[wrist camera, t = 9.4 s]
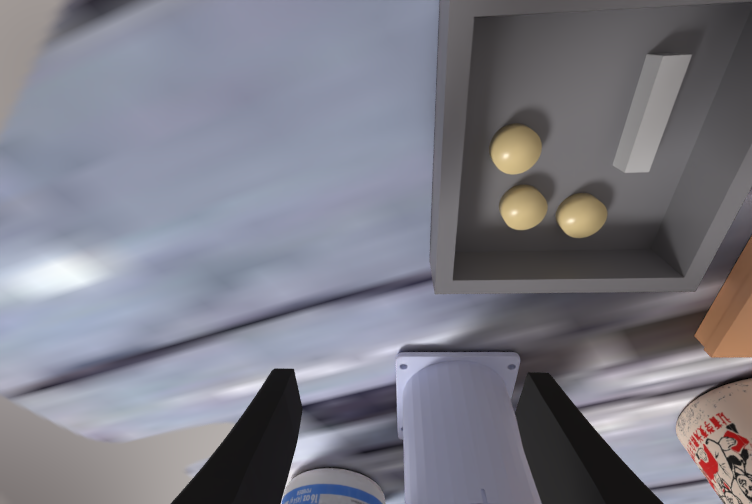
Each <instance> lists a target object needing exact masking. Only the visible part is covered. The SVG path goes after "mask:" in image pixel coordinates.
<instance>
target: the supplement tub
mask: <svg viewBox="0 0 752 504" xmlns="http://www.w3.org/2000/svg"><path fill="white" fill-rule="evenodd" d="M282 504H385V497H384V494H383V491H382V490H381V488H380V487H379V486H378V484H377V483H375V482H374V481H373V480H372V479H370V478H368V477H366V476H364V475H362V474H359V473H356V472H353V471H349V470H344V469H336V468H322V469H314V470H310V471H306V472H303V473H301V474H299V475H297V476H296V477H294V478H293V479H292V480H291V481H290V482H289V483H288V485H287V487H286V489H285V492H284V496H283V500H282Z"/></svg>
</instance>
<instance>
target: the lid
mask: <svg viewBox="0 0 752 504" xmlns="http://www.w3.org/2000/svg"><path fill="white" fill-rule="evenodd" d="M694 336H695V337H696V338H697V339H698V340H699V342H700V343H701V344H702V345H703V346H704V347H705V348H704V350H705V351H706V352H707V354H708V355H709V356H710V357H752V236H751V238H750V239H749V241H748V243H747V245H746V246H745V248H744V250H743V252H742V253H741V255H740V257H739V258H738V260H737V262H736V264H735V265H734V267H733V269H732V271H731V272H730V274H729V276H728V278H727V279H726V281H725V283H724V285H723V286H722V288H721V290H720V292H719V293H718V295H717V297H716V299H715V300H714V302H713V304H712V306H711V307H710V309H709V311H708V313H707V314H706V316H705V318H704V320H703V321H702V323H701V325H700V327H699V328H698V330H697V332H696V334H695V335H694Z"/></svg>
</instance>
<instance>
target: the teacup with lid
mask: <svg viewBox="0 0 752 504" xmlns="http://www.w3.org/2000/svg"><path fill="white" fill-rule="evenodd" d="M676 433H677V436H678V438H679V440H680V441H681V443H682V444H683V446H684V447H685V449H686V450H687V451H688V453H689V454H690V456H691V457H692V459H693V460H694V462H695V463H696V464H697V466H698V467H699V469H700V470H701V472H702V473H703V474H704V476H705V477H706V479H707V480H708V482H709V483H710V485H711V486H712V487H713V489H714V490H715V492H716V493H717V495H718V496H719V498H720V499H721V500H722V502H723V503H724V504H752V378H750V379H745V380H740V381H736V382H733V383H729V384H726V385H723V386H721V387H718V388H716V389H714V390H712V391H709V392H707V393H706V394H704V395H702V396H700V397H699V398H697V399H696V400H694V401H693V402H692V403H691V404H689V405H688V406H687V407H686V408H685V409H684V411H683V412H682V413H681V415H680V416H679V418H678V420H677V424H676Z"/></svg>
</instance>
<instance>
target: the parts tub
mask: <svg viewBox="0 0 752 504" xmlns="http://www.w3.org/2000/svg"><path fill="white" fill-rule="evenodd" d="M751 187H752V0H440V1H439V27H438V53H437V78H436V104H435V130H434V156H433V182H432V208H431V234H430V267H431V273H432V280H433V286H434V293H435V294H500V293H597V292H695V291H696V290H697V288H698V286H699V284H700V282H701V280H702V278H703V276H704V275H705V273H706V271H707V269H708V267H709V265H710V263H711V262H712V260H713V258H714V256H715V254H716V252H717V250H718V248H719V247H720V245H721V243H722V241H723V239H724V237H725V235H726V234H727V232H728V230H729V228H730V226H731V224H732V222H733V220H734V219H735V217H736V215H737V213H738V211H739V209H740V207H741V205H742V204H743V202H744V200H745V198H746V196H747V194H748V192H749V191H750V189H751Z"/></svg>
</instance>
